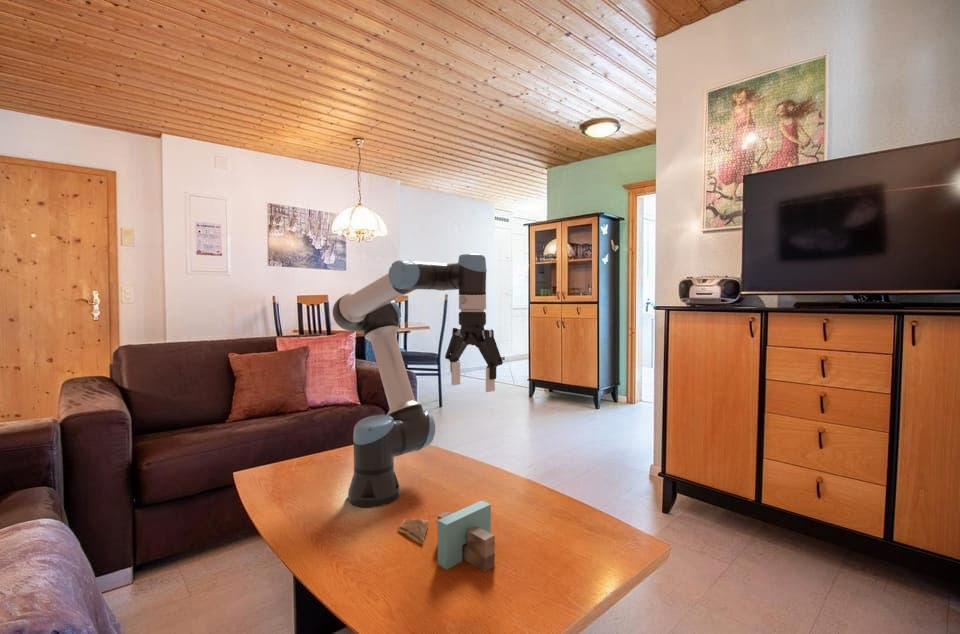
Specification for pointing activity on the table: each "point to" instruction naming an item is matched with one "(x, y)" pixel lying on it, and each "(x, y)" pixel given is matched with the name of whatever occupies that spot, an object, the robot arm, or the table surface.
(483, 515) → the teal board
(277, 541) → the table surface
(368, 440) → the robot arm
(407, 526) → the shard
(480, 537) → the walnut board
